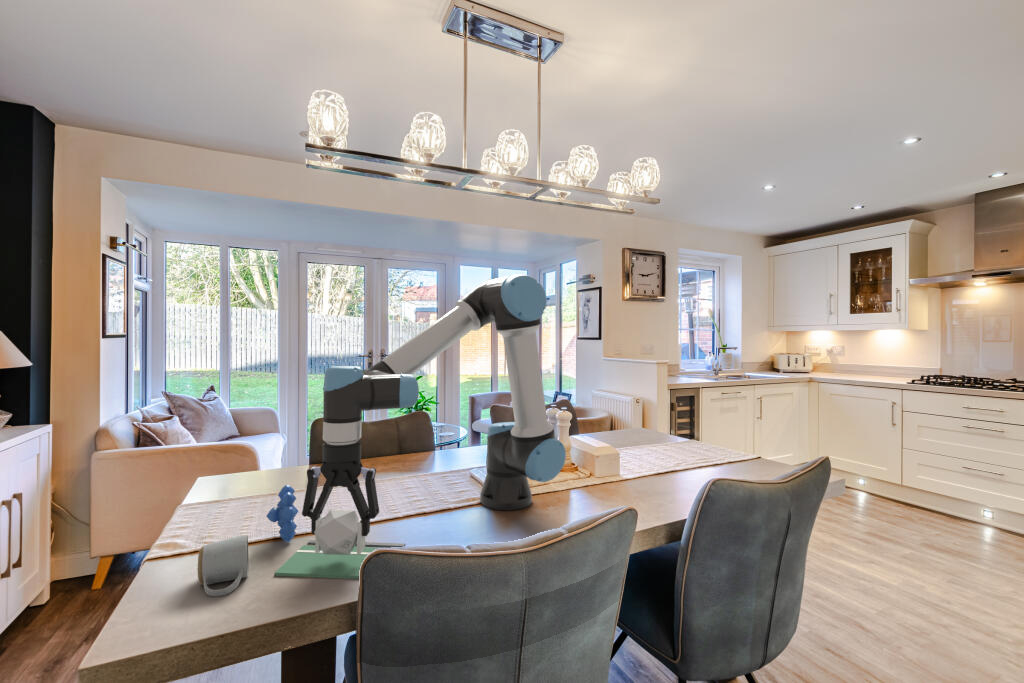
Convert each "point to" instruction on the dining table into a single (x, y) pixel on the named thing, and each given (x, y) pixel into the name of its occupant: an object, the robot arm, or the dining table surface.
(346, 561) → the felt mat
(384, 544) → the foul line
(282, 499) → the grapes
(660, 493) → the dining table surface
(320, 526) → the die
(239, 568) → the ceramic mug
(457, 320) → the robot arm
